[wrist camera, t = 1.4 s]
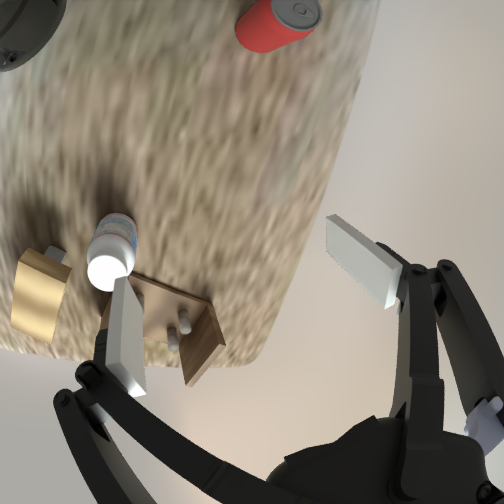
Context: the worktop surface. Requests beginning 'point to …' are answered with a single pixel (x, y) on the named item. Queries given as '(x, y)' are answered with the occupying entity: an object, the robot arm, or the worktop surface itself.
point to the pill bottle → (112, 250)
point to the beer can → (277, 23)
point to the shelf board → (38, 295)
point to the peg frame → (177, 324)
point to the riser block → (55, 254)
